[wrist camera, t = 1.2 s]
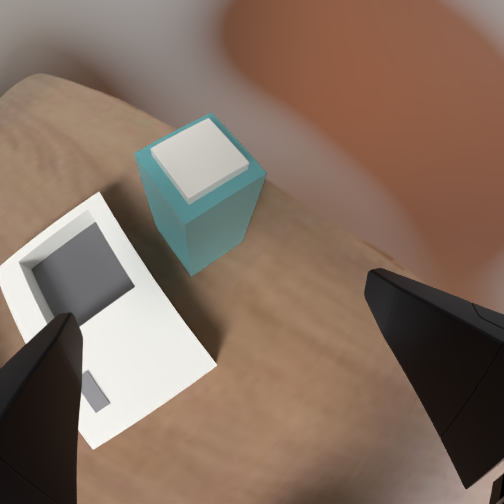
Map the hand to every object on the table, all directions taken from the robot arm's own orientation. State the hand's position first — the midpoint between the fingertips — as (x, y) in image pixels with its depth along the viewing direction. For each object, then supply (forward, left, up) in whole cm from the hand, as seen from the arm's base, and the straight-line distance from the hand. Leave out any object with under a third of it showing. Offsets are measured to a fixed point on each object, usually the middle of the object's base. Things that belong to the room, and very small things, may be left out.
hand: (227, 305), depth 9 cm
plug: (+6, -3, -13) cm, 15 cm away
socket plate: (+5, +6, -13) cm, 15 cm away
